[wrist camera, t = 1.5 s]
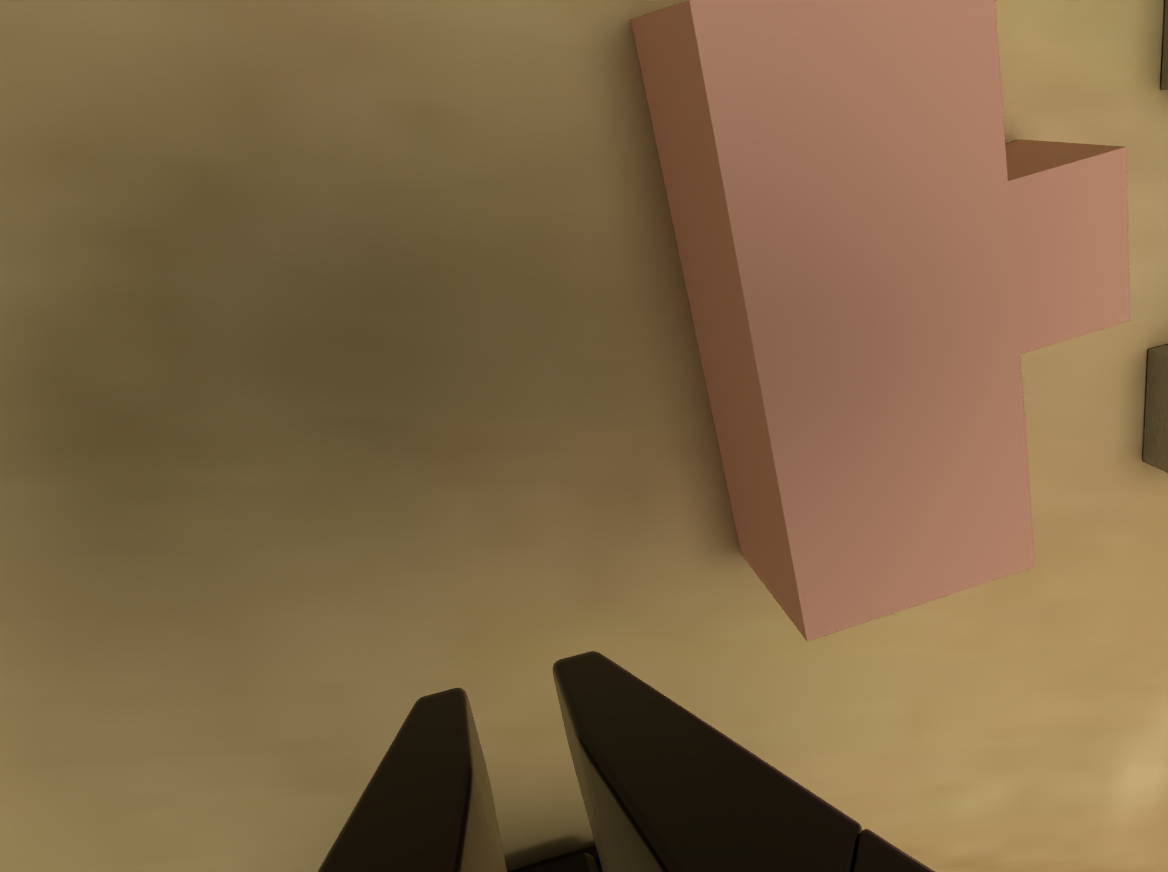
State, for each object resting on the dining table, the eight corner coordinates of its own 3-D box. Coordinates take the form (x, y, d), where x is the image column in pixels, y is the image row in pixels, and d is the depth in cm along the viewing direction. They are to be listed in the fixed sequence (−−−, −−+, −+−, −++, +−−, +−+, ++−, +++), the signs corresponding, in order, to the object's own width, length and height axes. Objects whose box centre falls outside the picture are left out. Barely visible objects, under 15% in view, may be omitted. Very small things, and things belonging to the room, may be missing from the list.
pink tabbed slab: (1040, 456, 23) (1162, 524, 19) (739, 552, 23) (807, 641, 19) (1006, -80, 19) (1155, -123, 15) (629, 20, 18) (688, 0, 14)
